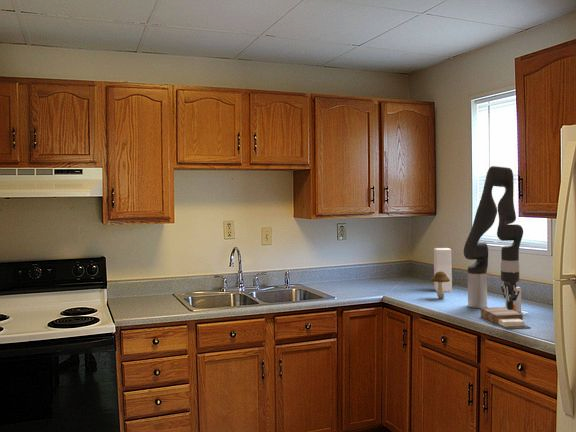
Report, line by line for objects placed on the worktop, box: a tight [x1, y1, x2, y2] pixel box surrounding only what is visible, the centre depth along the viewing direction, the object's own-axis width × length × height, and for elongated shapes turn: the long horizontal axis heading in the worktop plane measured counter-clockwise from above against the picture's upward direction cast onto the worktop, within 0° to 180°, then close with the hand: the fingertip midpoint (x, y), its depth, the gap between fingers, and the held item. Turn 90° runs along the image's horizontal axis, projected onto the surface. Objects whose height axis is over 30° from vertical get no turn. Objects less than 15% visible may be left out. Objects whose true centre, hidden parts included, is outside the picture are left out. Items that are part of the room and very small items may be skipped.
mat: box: [498, 324, 531, 330], centre depth 238 cm, size 8×10×1 cm
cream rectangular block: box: [497, 318, 526, 328], centre depth 239 cm, size 6×9×2 cm, turn 92°
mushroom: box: [429, 272, 450, 300], centre depth 303 cm, size 9×11×15 cm
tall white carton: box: [433, 247, 453, 293], centre depth 328 cm, size 9×9×25 cm
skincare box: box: [505, 286, 522, 313], centre depth 267 cm, size 6×4×12 cm
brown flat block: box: [480, 306, 524, 325], centre depth 250 cm, size 16×12×4 cm
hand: (510, 309), depth 241 cm, fingers closed
